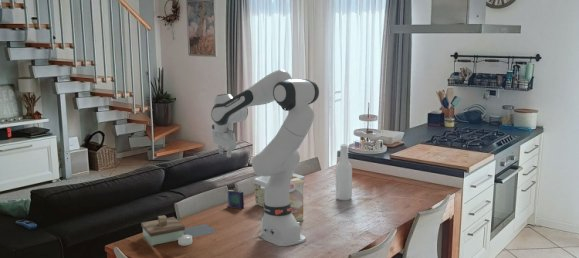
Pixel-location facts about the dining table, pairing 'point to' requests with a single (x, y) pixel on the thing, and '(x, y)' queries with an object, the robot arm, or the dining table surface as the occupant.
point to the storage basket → (260, 185)
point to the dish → (161, 237)
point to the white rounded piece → (185, 240)
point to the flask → (235, 198)
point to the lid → (162, 226)
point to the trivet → (199, 230)
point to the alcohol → (344, 175)
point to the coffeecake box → (296, 198)
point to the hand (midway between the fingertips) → (224, 155)
